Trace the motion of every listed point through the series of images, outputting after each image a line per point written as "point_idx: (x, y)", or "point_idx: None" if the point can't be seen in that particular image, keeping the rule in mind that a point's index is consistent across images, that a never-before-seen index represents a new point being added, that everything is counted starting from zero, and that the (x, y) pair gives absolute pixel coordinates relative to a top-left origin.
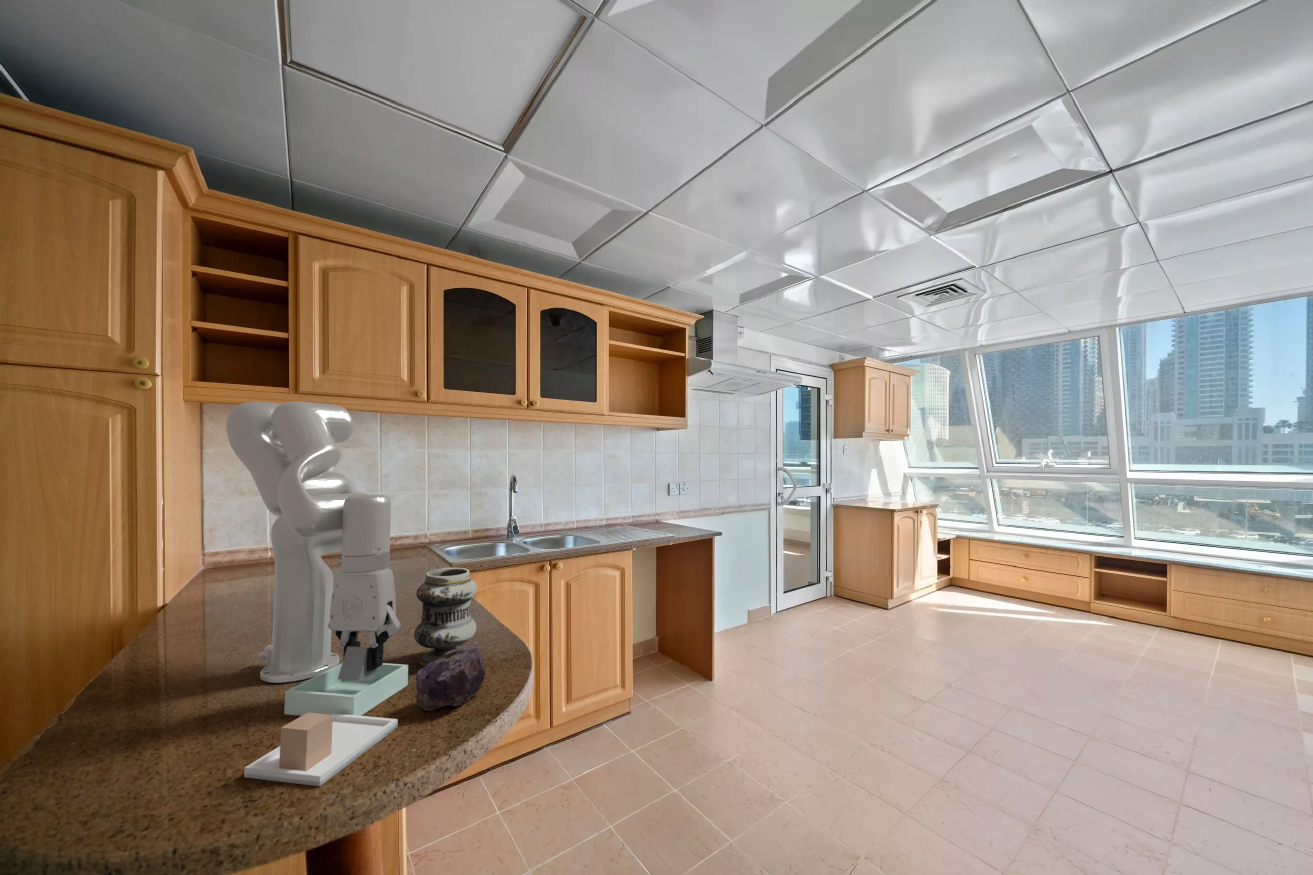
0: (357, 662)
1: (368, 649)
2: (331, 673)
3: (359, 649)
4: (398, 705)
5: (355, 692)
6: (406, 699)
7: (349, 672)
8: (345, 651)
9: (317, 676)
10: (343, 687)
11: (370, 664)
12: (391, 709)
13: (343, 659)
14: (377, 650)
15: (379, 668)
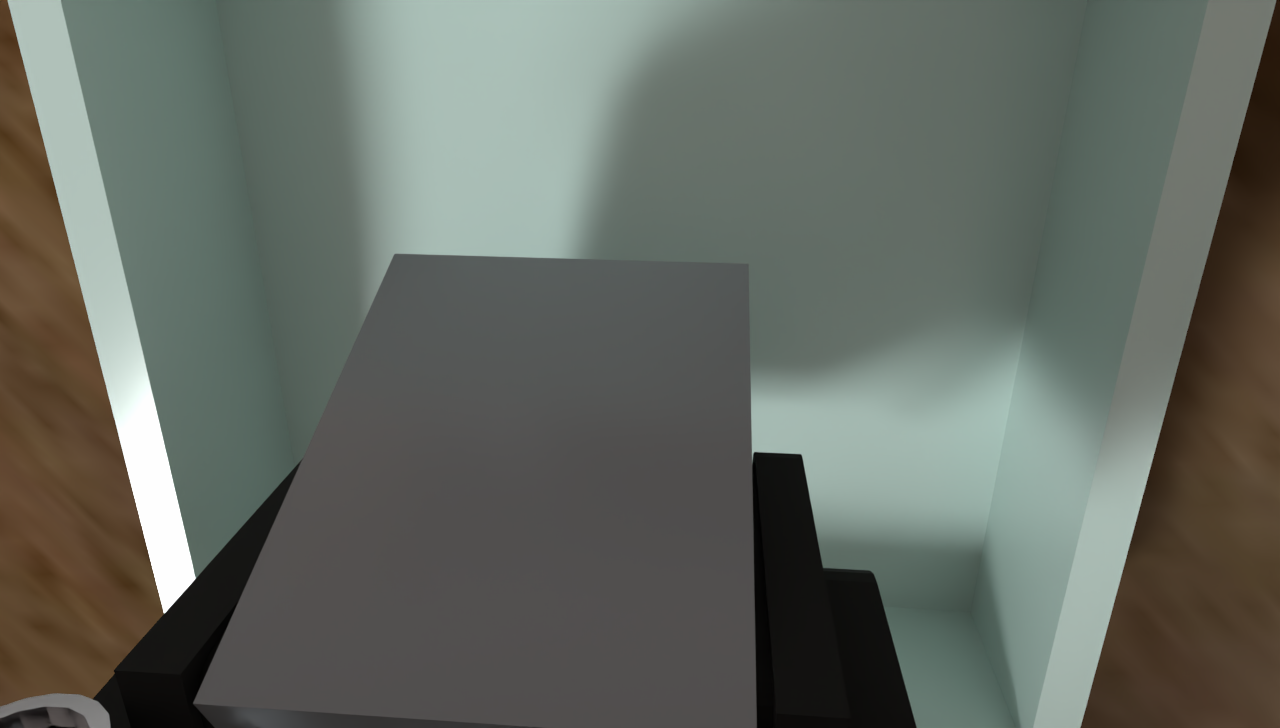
0: (430, 443)
1: (173, 655)
2: (1062, 500)
3: (412, 664)
4: (21, 193)
5: None
6: (60, 317)
7: (566, 329)
8: (786, 642)
9: (1154, 313)
10: (849, 423)
11: (288, 488)
12: (9, 103)
13: (809, 536)
14: (109, 696)
15: None
